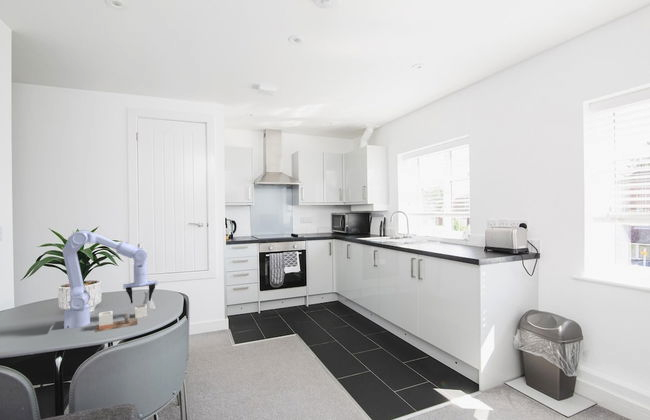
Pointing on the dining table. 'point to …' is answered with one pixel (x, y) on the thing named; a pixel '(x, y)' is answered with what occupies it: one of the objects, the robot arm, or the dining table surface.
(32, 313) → the dining table surface
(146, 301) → the flask
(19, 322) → the dining table surface
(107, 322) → the seated sleeve
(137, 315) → the sleeve
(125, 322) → the pin board
